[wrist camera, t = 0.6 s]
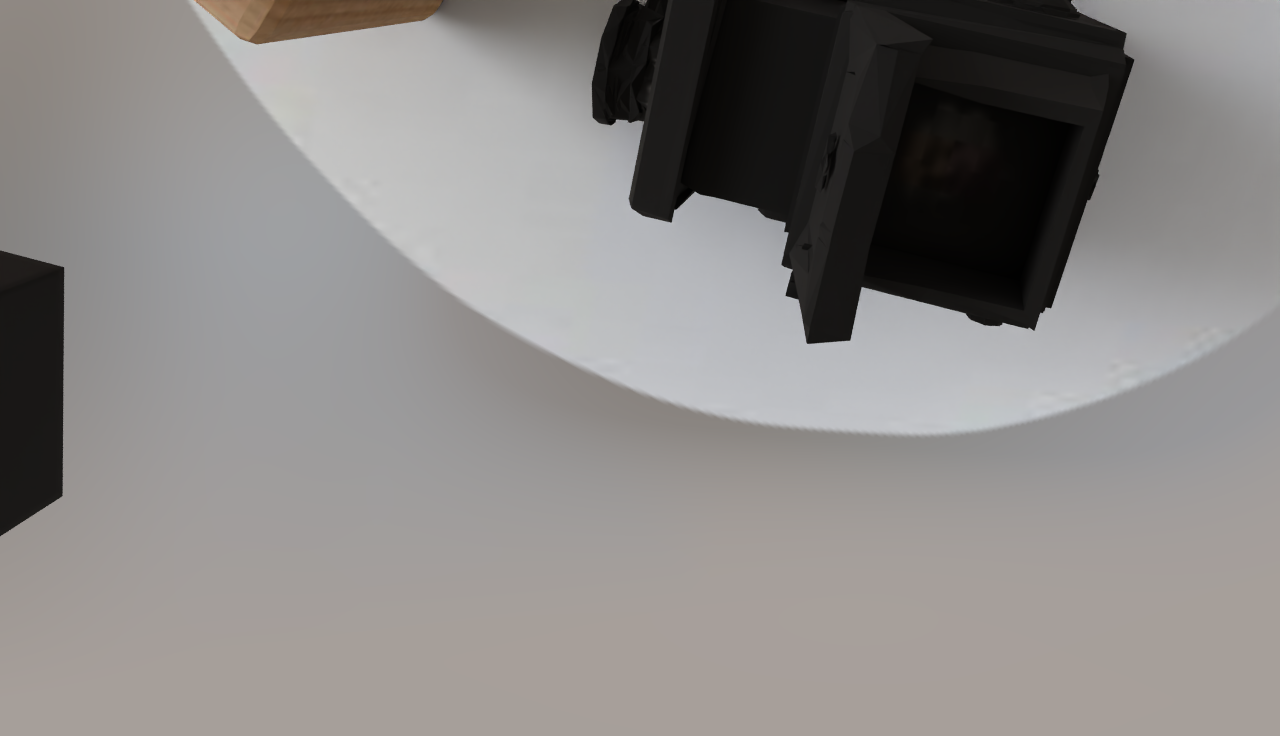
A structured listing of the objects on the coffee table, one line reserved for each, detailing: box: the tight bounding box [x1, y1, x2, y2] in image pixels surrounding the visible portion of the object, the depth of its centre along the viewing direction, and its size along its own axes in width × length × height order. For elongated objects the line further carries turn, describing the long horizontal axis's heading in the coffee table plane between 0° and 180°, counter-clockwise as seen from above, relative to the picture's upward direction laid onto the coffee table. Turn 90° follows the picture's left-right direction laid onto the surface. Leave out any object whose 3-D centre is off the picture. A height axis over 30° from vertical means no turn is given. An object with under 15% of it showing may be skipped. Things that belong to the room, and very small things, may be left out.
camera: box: [592, 0, 1134, 344], centre depth 34 cm, size 10×14×20 cm
